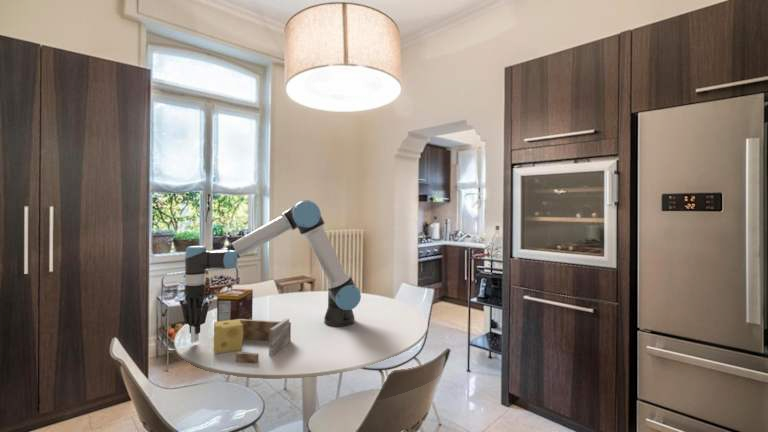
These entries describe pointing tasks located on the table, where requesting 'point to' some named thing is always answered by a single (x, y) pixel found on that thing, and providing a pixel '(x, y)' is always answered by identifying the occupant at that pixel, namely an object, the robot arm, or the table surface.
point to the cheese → (228, 336)
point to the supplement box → (235, 305)
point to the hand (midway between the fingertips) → (194, 341)
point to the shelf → (265, 336)
